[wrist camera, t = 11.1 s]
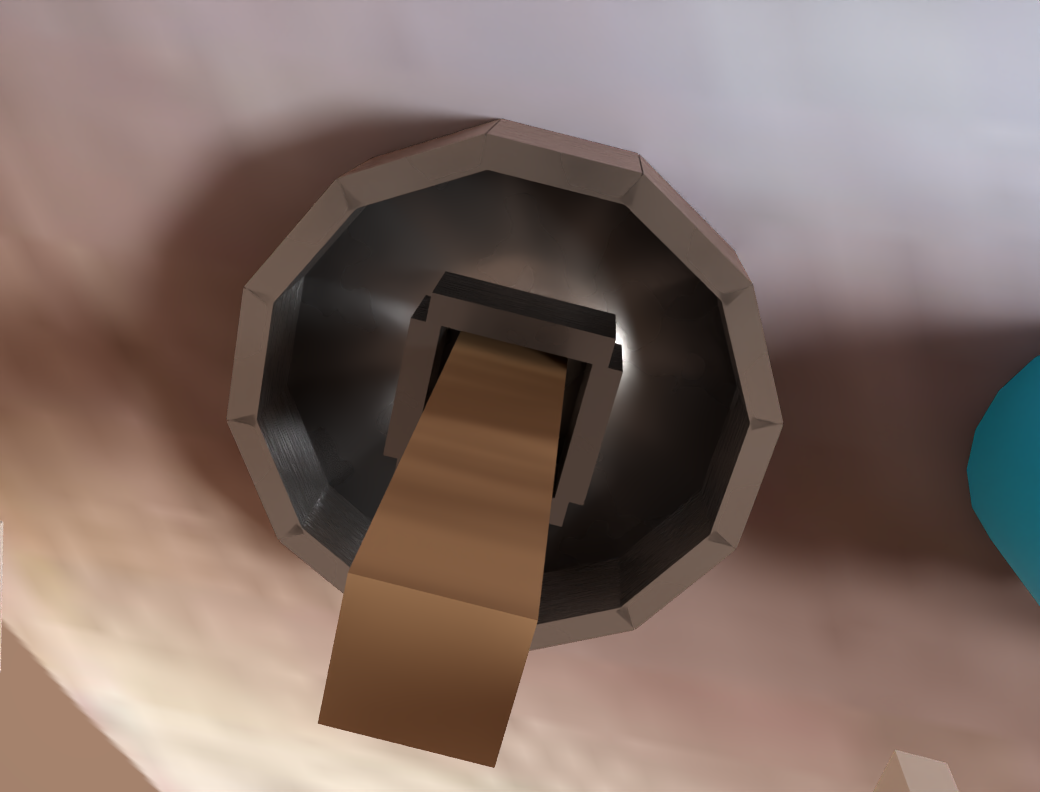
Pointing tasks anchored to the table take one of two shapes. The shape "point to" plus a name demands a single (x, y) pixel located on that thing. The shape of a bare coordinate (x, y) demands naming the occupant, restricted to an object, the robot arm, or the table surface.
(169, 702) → the table surface
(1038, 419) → the mug
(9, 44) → the table surface
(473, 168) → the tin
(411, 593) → the square wooden stick
